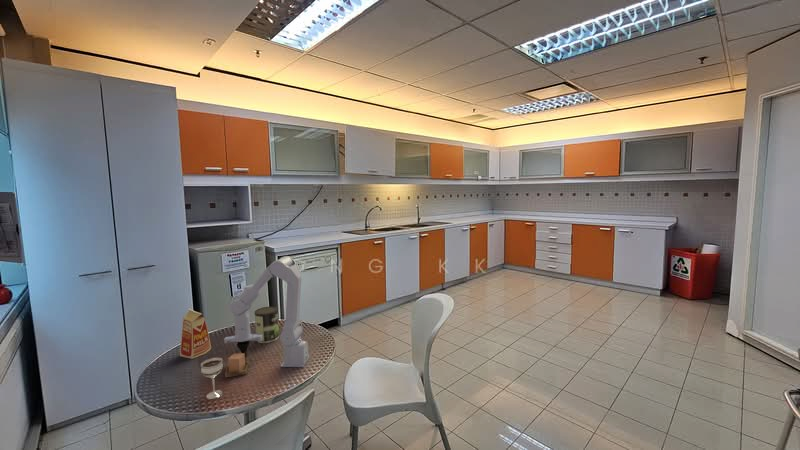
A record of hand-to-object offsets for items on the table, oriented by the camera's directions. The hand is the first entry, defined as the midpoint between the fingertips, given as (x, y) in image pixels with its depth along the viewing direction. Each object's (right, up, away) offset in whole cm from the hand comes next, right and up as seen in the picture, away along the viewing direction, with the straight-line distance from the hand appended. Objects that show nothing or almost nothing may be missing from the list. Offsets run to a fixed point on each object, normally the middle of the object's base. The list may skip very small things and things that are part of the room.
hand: (244, 357), depth 141 cm
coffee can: (+2, +1, +21) cm, 21 cm away
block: (+1, -2, -8) cm, 8 cm away
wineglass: (0, -4, -22) cm, 23 cm away
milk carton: (-25, -1, +8) cm, 26 cm away
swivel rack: (0, -2, -4) cm, 5 cm away
